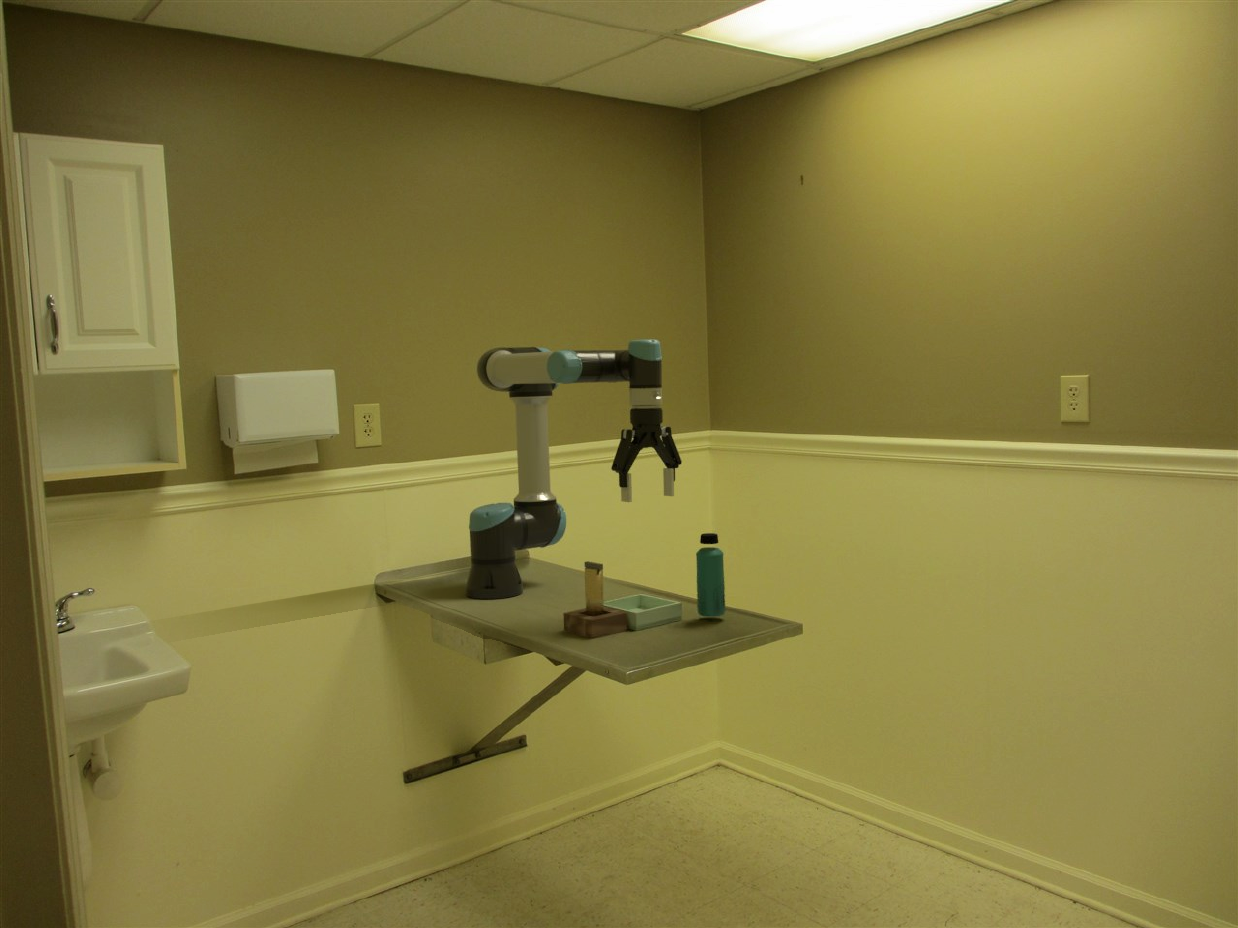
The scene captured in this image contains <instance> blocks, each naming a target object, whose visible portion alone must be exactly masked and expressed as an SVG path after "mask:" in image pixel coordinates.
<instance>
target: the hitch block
mask: <svg viewBox="0 0 1238 928" xmlns="http://www.w3.org/2000/svg"><path fill="white" fill-rule="evenodd" d="M563 631H564V632H568V633H572V634H575V635H578V636H581V637H586V638H589V639H596V638H600V637H605V636H608V635H609V636H610V635H613V634H616V633H621V632H625V631H628V629H627V612H623V611H619V610H615V609H611V608H606V607H604V615H599V616H595V617H592V616H588V615H586V607H584V608H580V609H576V610H571V611H567V612H563Z"/></svg>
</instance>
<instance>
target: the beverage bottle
mask: <svg viewBox="0 0 1238 928" xmlns="http://www.w3.org/2000/svg"><path fill="white" fill-rule="evenodd" d="M718 537H719V536H718V533H715V532H712V533H711V532H707V533H701V534H700V539H699V540H700V541H699V543H700V544H703V545H715V544H719V538H718ZM695 556H696V558H695V559H696V586H695V587H696V592H697V593H696V597H697V598H696V600H697V604H696V607H697V613H698V615H699V616H703V617H711V618H712V617H713V618H714V617H721V616H723V615H725V613H726V609H727V608H726V594H725V593H726V592H725V591H726V589H725V588H726V587H725V585H726V581H725V568H724V565H725V564H724V552H723V551H722V550H721V549H720V548H719V547H715V546H714V547H713V546H708V547H702V548H699V550H697V552H696V553H695Z"/></svg>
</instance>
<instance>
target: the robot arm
mask: <svg viewBox="0 0 1238 928" xmlns="http://www.w3.org/2000/svg"><path fill="white" fill-rule="evenodd" d="M662 359H663V356H662V349H661V343H660V341H659V340H658V339H632V340H630V341H629V342H628V346H627V349H609V350H608V349H604V350H602V349H601V350H600V349H599V350H598V349H597V350H595V349H594V350H591V349H590V350H587V349H585V350H584V349H583V350H581V349H579V350H577V349H576V350H575V349H572V350H571V349H561V350H554V351H551V350H549V349H548V348H546V347H538V346H527V347H523V346H522V347H520V346H518V347H517V346H516V347H515V346H514V347H513V346H512V347H504V346H503V347H500V346H499V347H494V348H492V349H489V350H487V351H486V352H484V353H483V354H482V355H481V356H480V357H479V359H478V361H477V363H476V374H477V377H478V379H479V381H480V383H481V384H482V385H483V386H485V388H487V389H489V390H491V391H494V392H495V391H496V392H505V393H506V392H508V396H509V397H508V398H509V400H511V402H512V403H513V404H514V405H515V409H514V410H515V429H516V430H515V431H516V433H515V434H516V452H517V455H516V456H517V476H518V477H517V478H518V479H517V481H518V493H517V494H516V496H515V497H514V498H513V504H512V503H511V502H497V503H489V504H484V505H482V506H478V507H476V508H474V509H473V510H472V511H471V512H470V514H469V522H468V523H469V524H468V529H469V541H470V543H469V544H470V545H469V546H470V567H469V568H470V569H469V571H468V572H469V573H468V577H467V579H466V580H467V581H466V584H465V589H464V590H465V596H466V597H469V598H473V599H482V600H483V599H485V600H493V599H505V598H511V597H512V598H513V597H515V596H519V595H521V594H523V592H524V584H523V580H522V578H521V575H520V572H519V570H518V566H517V563H516V552H517V551H525V550H530V549H535V548H542V549H543V548H547V547H548V546H554V545H556V544H557V543H559V542H560V541H561V539H562V538H563V536H564V534H565V532H566V528H567V516H566V512H565V511H564V508H563V506H562V505H561V504H560V503H558V502H557V501H558V500H557V496H556V495H554V493H552V491H551V472H550V471H551V469H550V468H551V467H550V446H549V443H550V442H549V441H550V440H549V422H548V421H549V420H548V418H549V417H548V415H549V414H548V403H549V401H551V399H552V398H553V391H554V390H556V389H557V388H558V386H559V385H560V384H561V385H562V384H563V385H569V384H582V383H583V384H584V383H585V384H588V383H615V384H616V383H622V382H623V383H624V382H628V383H629V386H628V388H629V389H628V390H629V406H631V408H630V410H629V420H630V421H629V423H630V425H632V426H631V427H632V429H629V428H628V429H626V428H625V429H622V430H621V432H620V441H619V444H618V447H617V450H616V452H615V456H614V459H613V462H612V464H611V470H612V471H613V472H615V473H616V474H618V486H619V488H620V494H621V496H620V497H621V501H620V502H623V503H632V502H633V498H632V493H633V492H632V491H633V490H632V473H629V471H630V470H631V467H632V466H633V465H634V462H635V461H636V460H637V457H638V455H639V453H641V452H640V451H643V450H644V449H648V448H653V449H654V451H655V453H657V455H658V457H659V458H660V460H661V461H662V462H663V464H664V465H665V467H663V469H662V471H663V479H662V480H663V496H664V497H665V496H666V497H675V482H676V469H678V468H679V467H680V465H682V461H683V460H682V458H681V456H680V454H679V451H678V448H677V446H676V443H675V441H674V438H673V433H672V427H671V426H661V424H663V420H664V419H663V415H664V414H663V408H662V407H660V406H662V405H663V386H662V383H663V377H662V376H663V372H662V366H663V365H662V364H663V363H662Z"/></svg>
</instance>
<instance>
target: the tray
mask: <svg viewBox="0 0 1238 928" xmlns="http://www.w3.org/2000/svg"><path fill="white" fill-rule="evenodd" d="M682 606H683V605H682V602H680V601H676V600H672V599H667V598H661V597H657V596H653V595H648V594H643V593H639V594H633V595H628V596H623V597H620V598H614V599H611V600H607V601H605V600H604V607H606V608H611V609H615V610H619V611H623V612H627V630H631V631H632V630H633V631H635V632H637V631H642V630H646V629H650V628H654V627H659V626H662V625H665V624H671V623H674V622H678V621H682V620H683V616H682V615H683V610H682Z"/></svg>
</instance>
